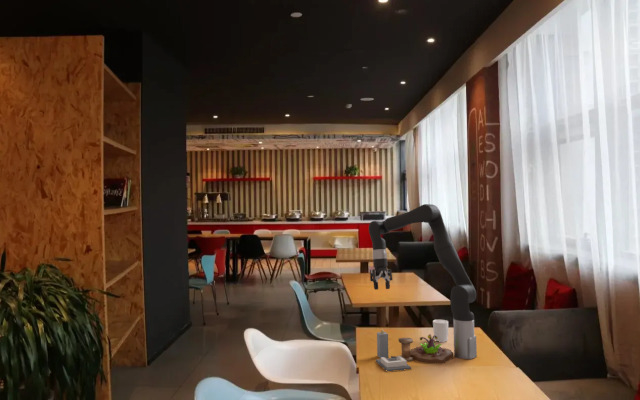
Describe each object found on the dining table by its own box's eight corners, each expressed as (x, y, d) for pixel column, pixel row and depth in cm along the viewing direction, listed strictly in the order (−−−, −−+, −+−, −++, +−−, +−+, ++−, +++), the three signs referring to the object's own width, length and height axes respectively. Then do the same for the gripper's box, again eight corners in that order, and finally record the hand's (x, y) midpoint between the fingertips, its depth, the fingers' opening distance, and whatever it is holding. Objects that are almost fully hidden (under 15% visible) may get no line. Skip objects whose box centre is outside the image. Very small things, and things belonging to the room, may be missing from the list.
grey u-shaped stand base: (375, 361, 216) (375, 355, 216) (398, 359, 219) (398, 352, 219) (387, 371, 202) (387, 364, 202) (411, 369, 205) (411, 362, 205)
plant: (403, 360, 218) (402, 336, 218) (416, 349, 235) (415, 326, 236) (447, 367, 209) (446, 341, 209) (457, 354, 226) (456, 330, 226)
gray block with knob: (377, 355, 224) (376, 329, 225) (385, 355, 225) (384, 328, 226) (380, 358, 220) (379, 331, 221) (388, 357, 221) (387, 330, 222)
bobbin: (416, 359, 219) (415, 339, 219) (407, 362, 214) (407, 342, 214) (398, 354, 226) (398, 335, 226) (390, 357, 221) (390, 338, 221)
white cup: (430, 339, 250) (429, 320, 251) (443, 337, 253) (443, 319, 253) (438, 343, 243) (438, 323, 243) (451, 341, 245) (451, 322, 245)
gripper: (375, 257, 246) (377, 289, 243) (394, 257, 255) (396, 288, 252) (365, 258, 252) (367, 290, 249) (384, 258, 261) (386, 289, 258)
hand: (382, 289), depth 251 cm, fingers open, 8 cm apart
